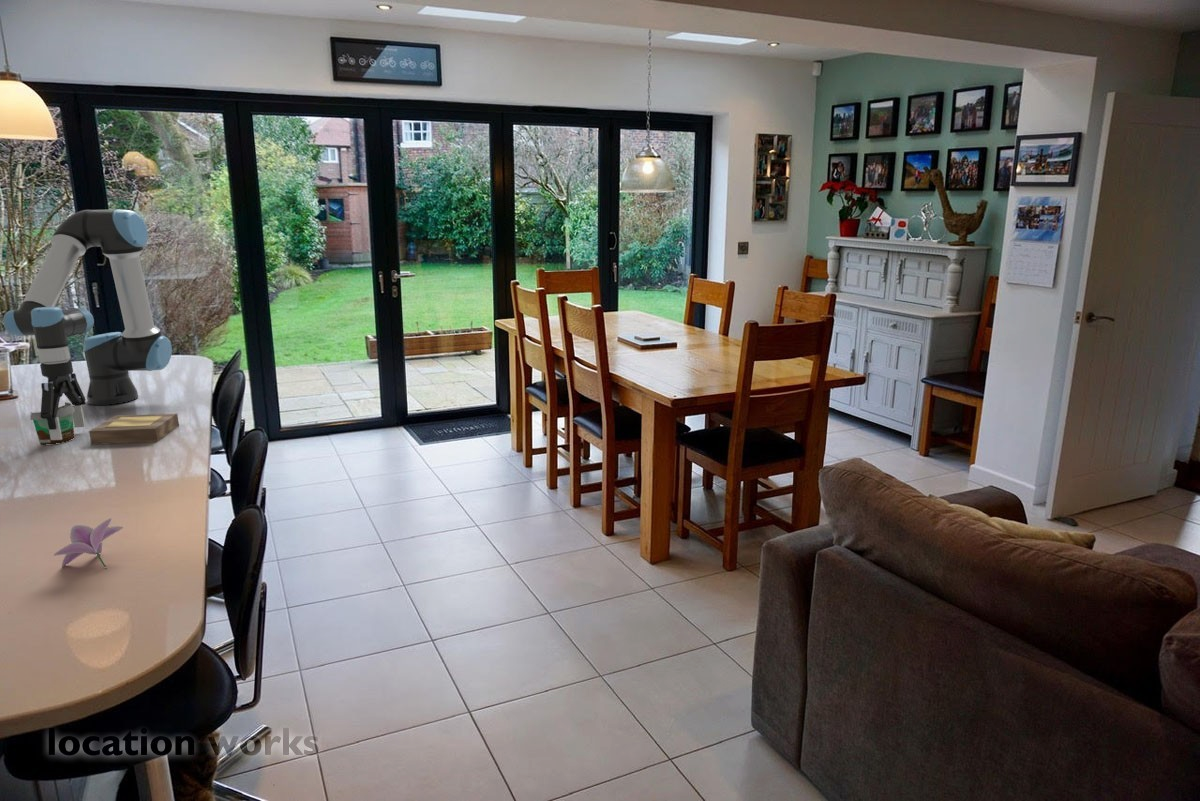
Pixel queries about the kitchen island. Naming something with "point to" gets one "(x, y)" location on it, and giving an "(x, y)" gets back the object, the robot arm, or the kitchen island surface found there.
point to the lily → (87, 541)
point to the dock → (134, 428)
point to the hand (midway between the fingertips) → (68, 433)
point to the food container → (64, 419)
